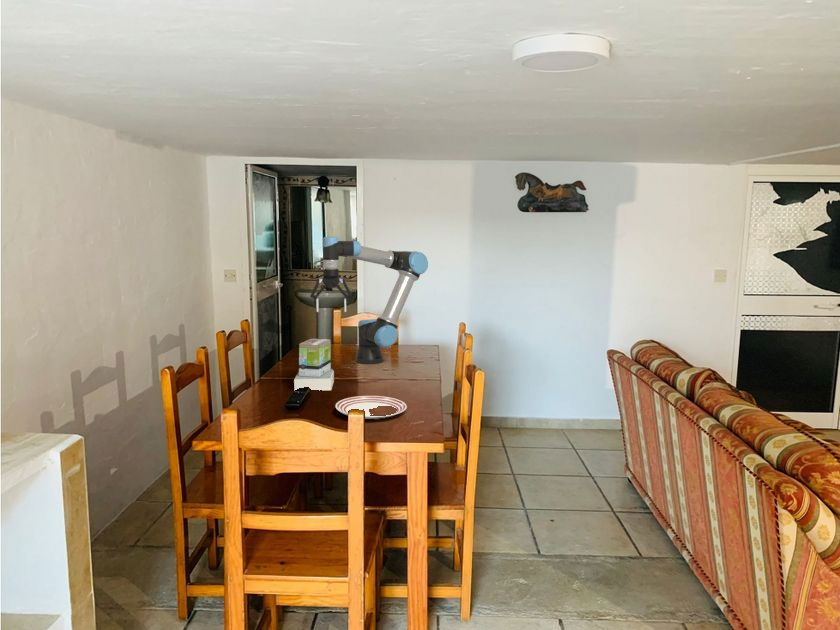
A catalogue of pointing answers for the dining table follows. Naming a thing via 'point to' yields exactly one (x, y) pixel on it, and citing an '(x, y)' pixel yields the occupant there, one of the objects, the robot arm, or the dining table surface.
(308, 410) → the dining table surface
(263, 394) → the dining table surface
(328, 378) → the plinth
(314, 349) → the tea box
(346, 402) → the dinner plate
